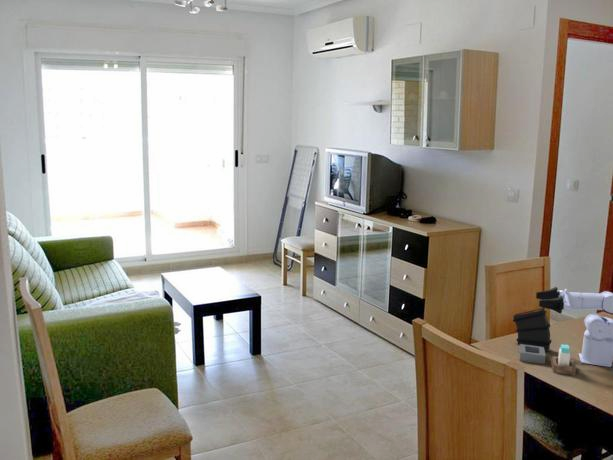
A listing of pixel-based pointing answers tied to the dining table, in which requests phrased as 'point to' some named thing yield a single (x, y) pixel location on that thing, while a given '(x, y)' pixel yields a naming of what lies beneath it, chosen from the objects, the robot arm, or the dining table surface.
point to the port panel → (532, 354)
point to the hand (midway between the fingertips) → (537, 299)
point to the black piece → (533, 328)
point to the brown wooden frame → (563, 366)
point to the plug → (564, 355)
